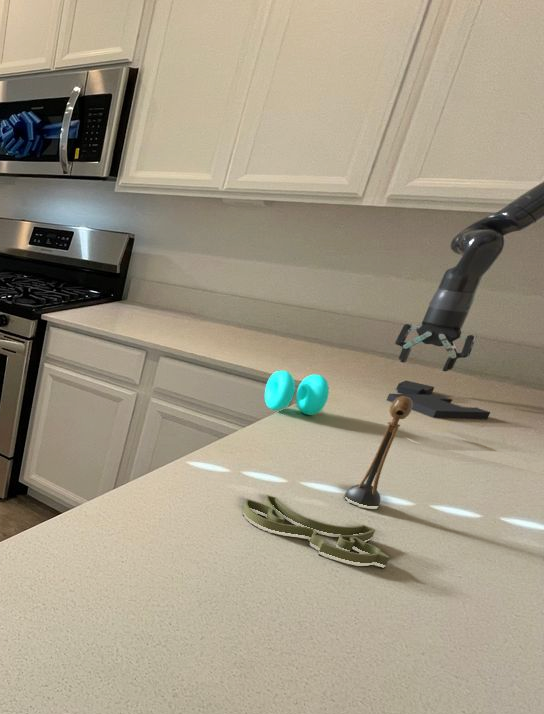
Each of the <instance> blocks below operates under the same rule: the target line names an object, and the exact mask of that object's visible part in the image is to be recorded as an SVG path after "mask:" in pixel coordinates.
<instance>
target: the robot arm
mask: <svg viewBox="0 0 544 714" xmlns="http://www.w3.org/2000/svg"><path fill="white" fill-rule="evenodd" d="M543 219H544V181H542V182H540V183H539V184H537V185H536V186H533V187H532V188H530V189H528V190H526V191H525V192H524V193H523V194H521V195H520V196H518V197H516V198H515V199H514V200H512V201H510V202H509V203H508V204H506V205H505V206H503V207H502V208H501V209H499V210H498V211H495V212H493V213H491V214H489V215H486V216H485V217H483V218H481V219H479V220H477V221H475V222H473V223H471V224H470V225H467V226H466V227H464V228H462V229H461V230H460V231H458V233H456V235H454V237H453V238H452V240H451V243H450V249H451V251H452V253H454V254H455V255H458V256H460V257H461V258H460V259H459V261H458V263H457V264H456V265H454V266H450V267H448V268H447V269H446V270H445V271H444V273H443V275H442V278H441V280H440V282H439V284H438V287H437V289H436V291H435V293H434V294H433V296H432V297H431V300H430V301H429V303H428V307H427V310H426V312H425V315H424V317H423V319H422V321H421V323H420V325H416V324H412V322H411V323H405V324H404V325H403V326H402V328H401V329H400V332H399V334H398V336H397V338H396V340H395V342H394V343H395V345H397V346H399V347H401V348H402V349H401V352H400V354H399V356H398V360H399V361H400V363H406V362H407V361H408V358H409V355H410V354H411V352H412V347H414V346H416V345H418V344H420V343H423V344H424V345H433V346H435V347H444V349H445V351H446V352H447V354H448V356H449V357H447V359H446V360H445V361H446V362H445V364H444V365H443V367H442V372H448V371H450V370H452V369H454V368H455V367H454V366H455V365H456V363H457V360H458V359H464V358H468V357H470V355H471V354H472V353H471V352H472V351H473V347H474V345H475V343H476V342H475V341H476V339H477V335H476V334H475V333H474V334H473V333H472V334H467V333H462V328H463V326H464V324H465V321H466V319H467V317H468V315H469V313H470V310H471V308H472V306H473V304H474V301H475V297H476V294H477V291H478V289H479V287H480V285H481V283H482V281H483V278H484V276H485V275H486V273H487V272H488V271H489V270H490V269H491V268H492V266H493V265H494V264H495V262H497V260H498V259H499V258H500V256H501V255H502V253H503V252H504V249H505V247H506V246H505V245H506V237H505V236H506V235H509V234H512V233H519V232H522V231H524V230H527V229H528V228H530V227H532V226H533V225H535V224H536V223H538V222H540V221H541V220H543ZM414 331H416V332H417V333H416V334H417V335H418V336H417V337H415V338H414V339H412V340H410V341H408V342H407V341H406V340H407V338H408V335H409V334H410V333H413V332H414ZM459 339H461V341H462V343H464V344H463V347H462V349H461V352H459V351H458V350H457V347H456V344H455V343H454V341H457V340H459Z"/></svg>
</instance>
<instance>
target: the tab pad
mask: <svg viewBox="0 0 544 714" xmlns="http://www.w3.org/2000/svg"><path fill="white" fill-rule="evenodd" d="M434 389H435V386H433V385H428V384H424V383H419V382H414V381H410V380H404V381H401V382H398V384H397V386H396V389H395V390H396V394H418V395H432V394H433V392H434Z"/></svg>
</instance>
